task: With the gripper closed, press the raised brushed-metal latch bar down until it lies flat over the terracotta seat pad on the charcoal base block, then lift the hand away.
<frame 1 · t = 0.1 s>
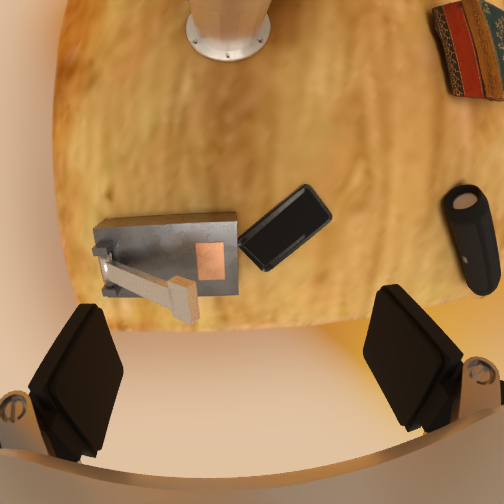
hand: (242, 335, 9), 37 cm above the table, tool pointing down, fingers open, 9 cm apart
latch bar: (140, 283, 36), point 11 cm above the table, hinge at 35.0°
decorative box: (464, 58, 36), on the table
phone: (284, 227, 47), on the table
portable speaker: (462, 235, 52), on the table
base block: (170, 250, 47), on the table
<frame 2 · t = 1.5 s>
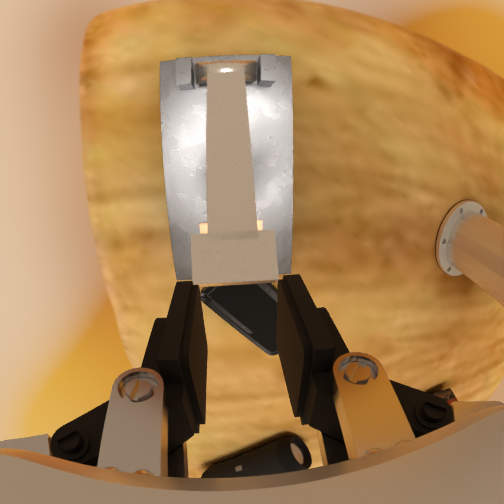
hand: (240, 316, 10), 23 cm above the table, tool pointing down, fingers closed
latch bar: (228, 147, 19), point 11 cm above the table, hinge at 35.0°
phone: (257, 308, 38), on the table
portable speaker: (251, 453, 54), on the table
base block: (228, 164, 30), on the table
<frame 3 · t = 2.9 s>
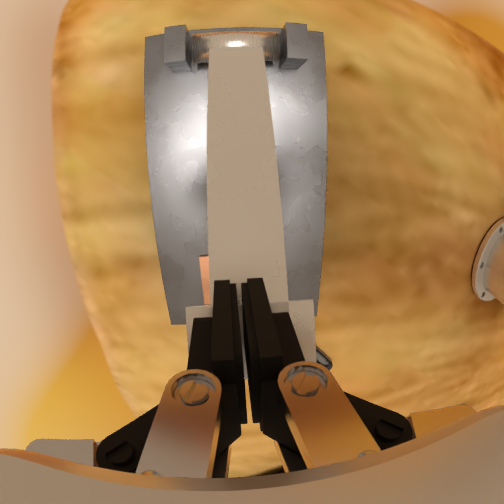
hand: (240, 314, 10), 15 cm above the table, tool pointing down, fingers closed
latch bar: (241, 161, 13), point 11 cm above the table, hinge at 31.6°
base block: (236, 174, 23), on the table
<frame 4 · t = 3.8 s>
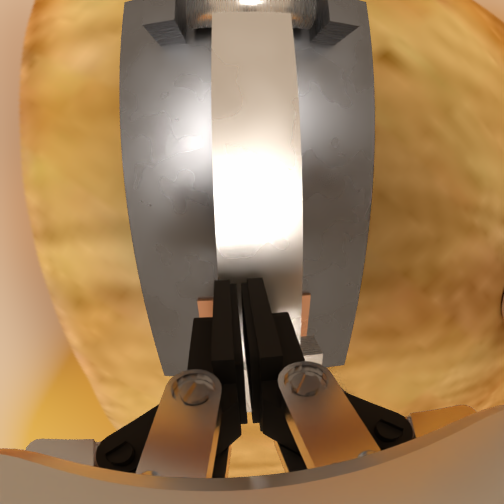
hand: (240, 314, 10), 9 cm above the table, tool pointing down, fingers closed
latch bar: (257, 196, 10), point 8 cm above the table, hinge at 9.9°, touching gripper
base block: (247, 185, 18), on the table
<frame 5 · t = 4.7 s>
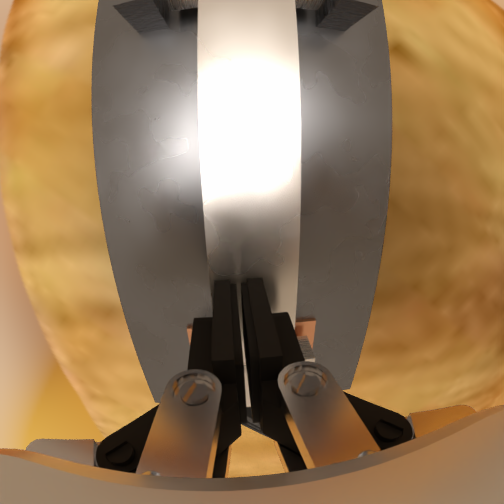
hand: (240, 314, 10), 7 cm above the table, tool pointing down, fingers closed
latch bar: (251, 208, 9), point 7 cm above the table, hinge at 0.5°, touching gripper
base block: (242, 192, 16), on the table
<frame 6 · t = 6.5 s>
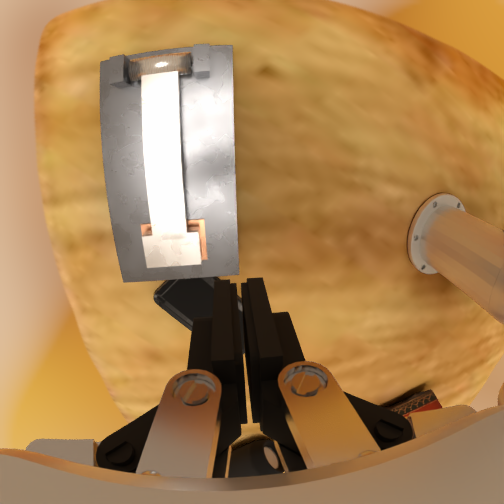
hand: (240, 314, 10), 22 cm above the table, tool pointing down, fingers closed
latch bar: (163, 160, 22), point 7 cm above the table, hinge at 0.4°
decorative box: (387, 416, 57), on the table
phone: (214, 310, 37), on the table
portable speaker: (225, 455, 53), on the table
base block: (173, 161, 28), on the table
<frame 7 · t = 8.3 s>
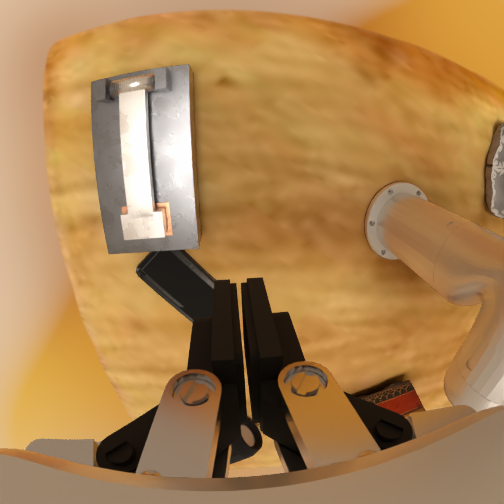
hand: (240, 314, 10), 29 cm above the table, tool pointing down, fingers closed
latch bar: (136, 157, 28), point 7 cm above the table, hinge at 0.4°
brain slice: (502, 169, 40), on the table
decorative box: (367, 406, 61), on the table
phone: (187, 284, 43), on the table
portable speaker: (207, 433, 59), on the table
base block: (151, 158, 35), on the table
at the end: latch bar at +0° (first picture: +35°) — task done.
